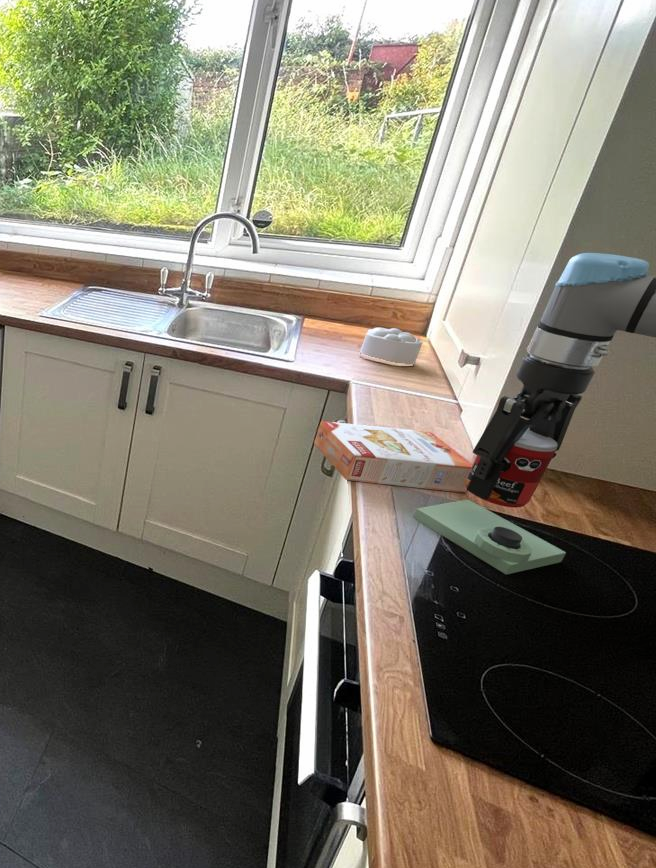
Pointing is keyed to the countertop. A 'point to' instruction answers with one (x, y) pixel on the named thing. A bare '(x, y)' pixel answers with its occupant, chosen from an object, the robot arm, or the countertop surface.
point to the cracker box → (392, 456)
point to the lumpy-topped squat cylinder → (391, 345)
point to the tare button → (506, 537)
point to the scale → (487, 536)
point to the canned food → (520, 470)
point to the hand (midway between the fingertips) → (496, 490)
